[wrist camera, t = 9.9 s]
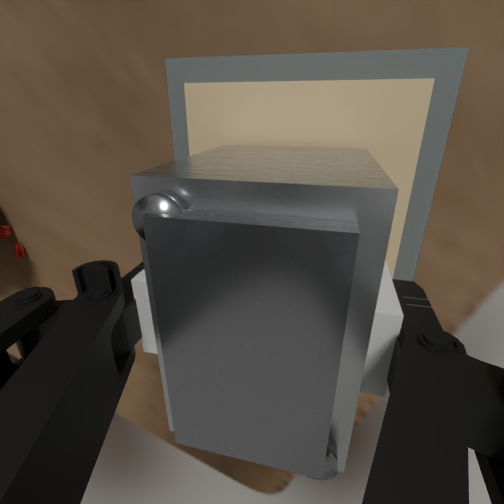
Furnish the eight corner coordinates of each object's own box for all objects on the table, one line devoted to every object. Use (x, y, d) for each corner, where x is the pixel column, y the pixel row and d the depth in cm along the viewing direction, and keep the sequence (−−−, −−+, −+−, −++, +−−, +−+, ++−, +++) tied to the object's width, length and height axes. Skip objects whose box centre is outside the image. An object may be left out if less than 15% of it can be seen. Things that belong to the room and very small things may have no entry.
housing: (224, 145, 14) (108, 182, 7) (367, 149, 13) (407, 199, 6) (229, 314, 18) (158, 452, 11) (340, 330, 16) (344, 500, 9)
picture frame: (209, 317, 23) (190, 348, 20) (192, 66, 17) (160, 57, 14) (382, 344, 21) (389, 384, 18) (444, 59, 14) (473, 45, 11)
